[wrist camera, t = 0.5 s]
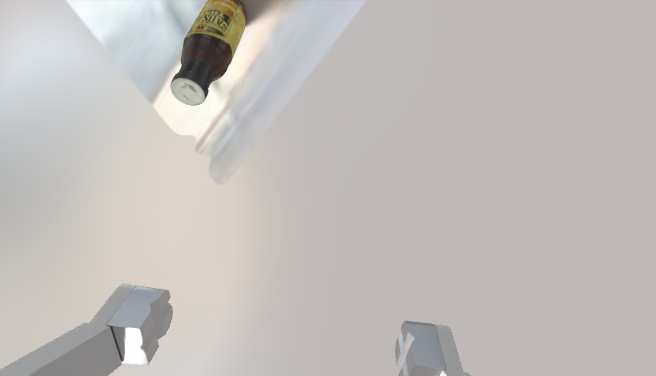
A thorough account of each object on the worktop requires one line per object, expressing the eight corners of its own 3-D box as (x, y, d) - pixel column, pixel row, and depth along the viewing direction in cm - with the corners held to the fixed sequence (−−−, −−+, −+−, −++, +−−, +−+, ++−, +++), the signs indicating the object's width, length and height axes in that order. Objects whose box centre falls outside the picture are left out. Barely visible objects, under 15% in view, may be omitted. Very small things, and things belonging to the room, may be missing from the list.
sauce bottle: (241, -11, 49) (209, 67, 37) (252, 31, 54) (226, 112, 42) (198, -8, 49) (151, 70, 37) (212, 34, 54) (176, 114, 42)
